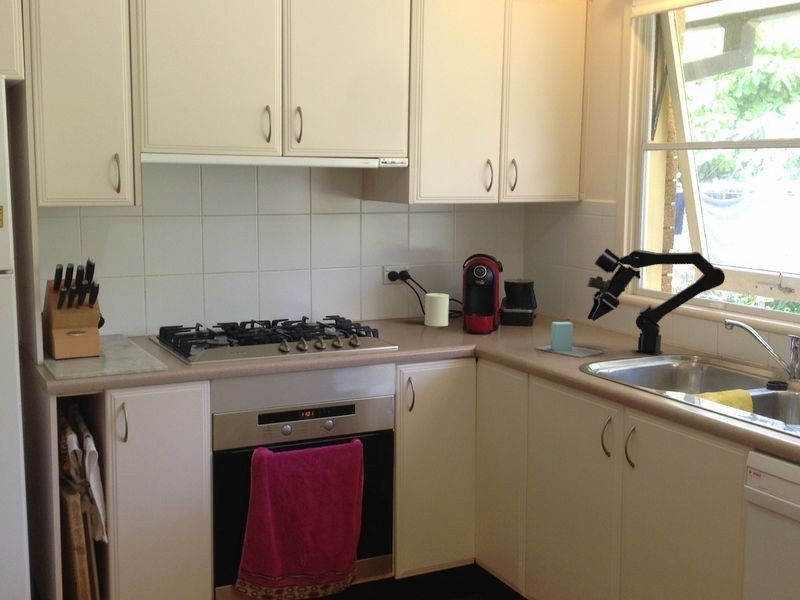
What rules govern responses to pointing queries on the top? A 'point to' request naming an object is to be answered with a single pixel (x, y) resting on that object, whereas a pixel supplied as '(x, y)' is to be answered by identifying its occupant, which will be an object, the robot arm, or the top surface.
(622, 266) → the robot arm
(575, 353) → the placemat
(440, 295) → the can
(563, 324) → the mint green pillar
